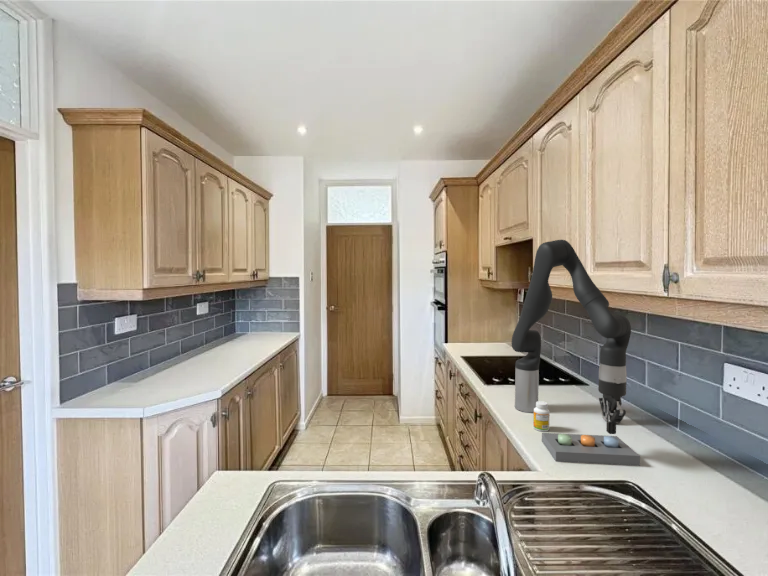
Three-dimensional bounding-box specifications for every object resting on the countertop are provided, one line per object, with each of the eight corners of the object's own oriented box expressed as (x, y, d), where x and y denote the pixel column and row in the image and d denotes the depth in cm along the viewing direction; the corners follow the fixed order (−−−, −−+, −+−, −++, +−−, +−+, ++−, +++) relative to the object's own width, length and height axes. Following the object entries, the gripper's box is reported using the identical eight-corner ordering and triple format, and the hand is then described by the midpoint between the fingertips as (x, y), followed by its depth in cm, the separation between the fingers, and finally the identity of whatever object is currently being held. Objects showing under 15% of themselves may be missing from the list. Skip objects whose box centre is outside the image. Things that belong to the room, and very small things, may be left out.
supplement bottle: (536, 424, 145) (536, 399, 145) (551, 428, 142) (551, 402, 142) (531, 429, 141) (531, 403, 141) (546, 433, 138) (547, 406, 137)
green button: (556, 440, 126) (556, 433, 125) (568, 441, 125) (569, 434, 125) (560, 446, 122) (560, 438, 121) (573, 446, 121) (573, 439, 121)
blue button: (601, 442, 124) (601, 435, 124) (614, 443, 124) (614, 436, 124) (607, 448, 120) (607, 440, 120) (620, 449, 120) (621, 441, 120)
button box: (541, 441, 131) (541, 432, 131) (616, 444, 128) (616, 436, 128) (555, 461, 117) (555, 451, 117) (639, 465, 115) (640, 455, 114)
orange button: (578, 441, 125) (578, 434, 125) (591, 442, 124) (591, 435, 124) (583, 447, 121) (583, 439, 121) (597, 447, 120) (597, 440, 120)
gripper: (590, 372, 128) (589, 424, 128) (609, 383, 115) (608, 441, 115) (614, 373, 127) (613, 425, 128) (636, 384, 114) (635, 442, 115)
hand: (611, 433), depth 121 cm, fingers closed
